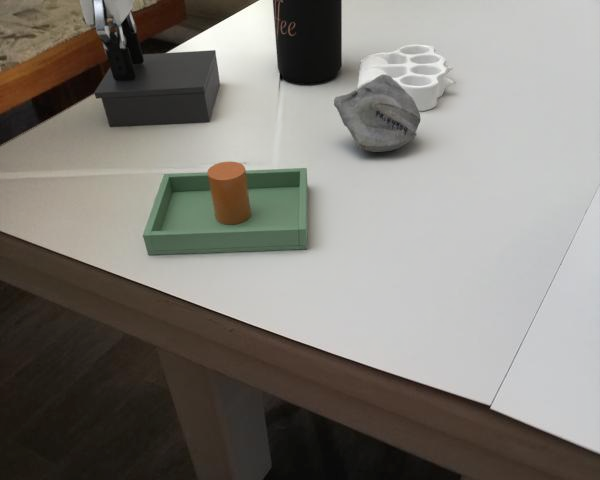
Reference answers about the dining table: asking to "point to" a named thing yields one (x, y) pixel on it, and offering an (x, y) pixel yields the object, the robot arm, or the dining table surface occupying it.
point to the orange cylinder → (229, 192)
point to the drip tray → (221, 237)
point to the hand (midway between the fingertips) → (129, 69)
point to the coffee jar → (308, 39)
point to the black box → (164, 107)
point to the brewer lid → (162, 75)
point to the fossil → (379, 115)
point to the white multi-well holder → (410, 72)
